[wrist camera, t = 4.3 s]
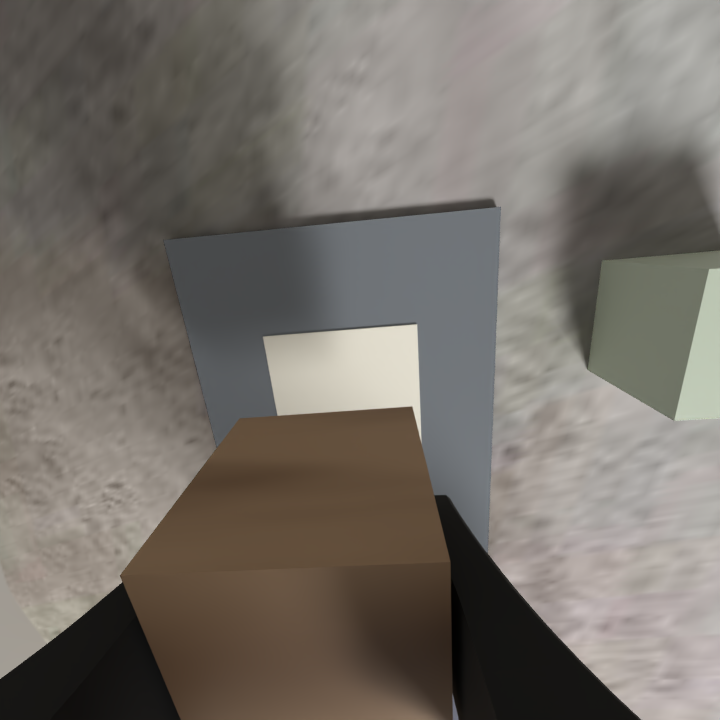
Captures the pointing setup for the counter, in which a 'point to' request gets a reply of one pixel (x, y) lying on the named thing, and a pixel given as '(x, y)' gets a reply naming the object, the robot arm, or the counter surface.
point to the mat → (355, 331)
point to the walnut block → (303, 576)
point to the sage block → (661, 332)
